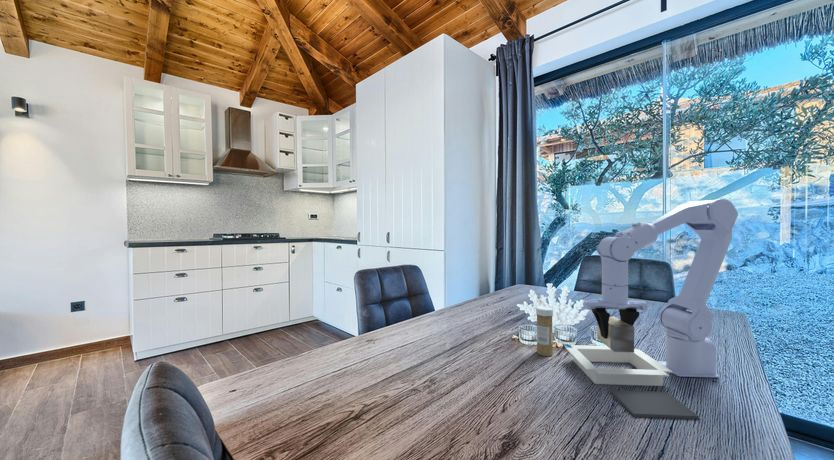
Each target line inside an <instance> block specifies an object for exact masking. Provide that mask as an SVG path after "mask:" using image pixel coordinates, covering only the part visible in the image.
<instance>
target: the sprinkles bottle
mask: <svg viewBox="0 0 834 460" xmlns="http://www.w3.org/2000/svg"><path fill="white" fill-rule="evenodd" d="M535 310H536V311H535V313H536V353H537V354H538V355H540V356H544V357H550V356H553V354H554V349H553V347H554V346H553V343H554V340H553V333H554V332H553V316H554V310H553V307H550V306H547V305H546V306H545V305H542V306H536V309H535Z"/></svg>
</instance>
